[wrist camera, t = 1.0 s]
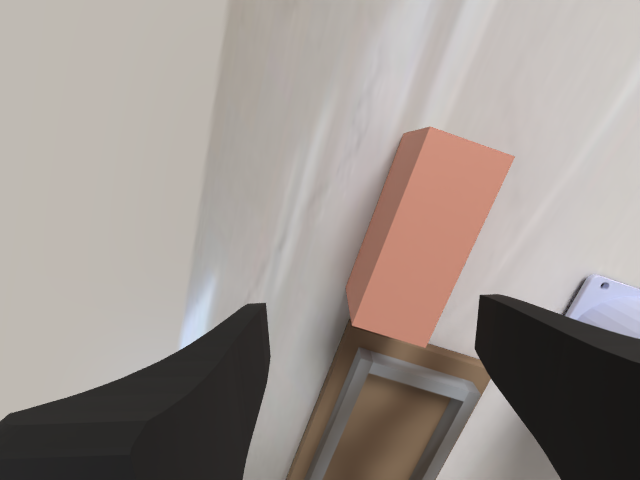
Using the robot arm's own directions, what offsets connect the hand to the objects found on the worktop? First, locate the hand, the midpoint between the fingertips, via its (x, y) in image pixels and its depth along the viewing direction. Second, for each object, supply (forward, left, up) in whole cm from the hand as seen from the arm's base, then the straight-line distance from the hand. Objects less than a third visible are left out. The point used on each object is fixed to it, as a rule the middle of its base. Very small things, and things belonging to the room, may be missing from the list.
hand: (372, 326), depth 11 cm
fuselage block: (-3, -2, -10) cm, 11 cm away
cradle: (-7, +13, -10) cm, 17 cm away
